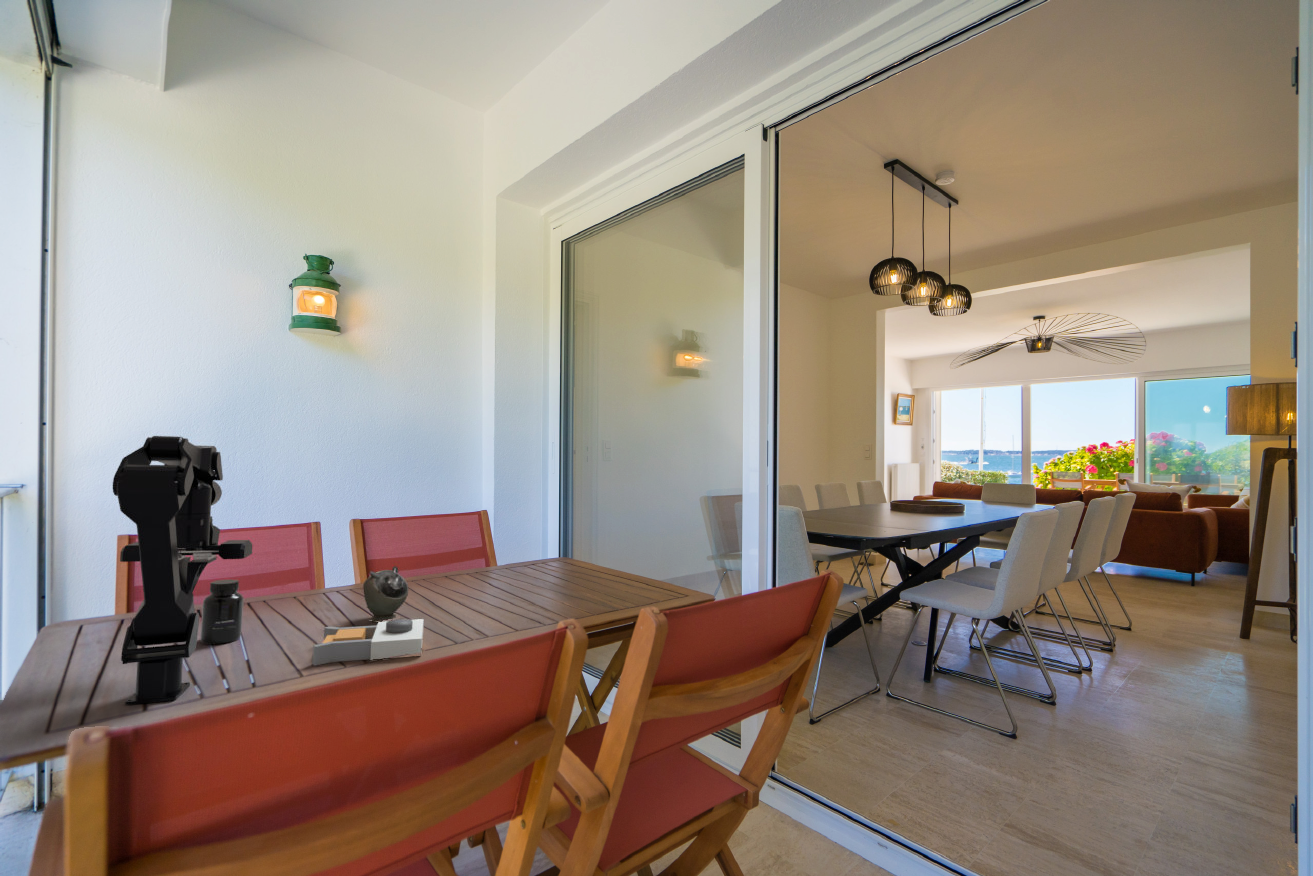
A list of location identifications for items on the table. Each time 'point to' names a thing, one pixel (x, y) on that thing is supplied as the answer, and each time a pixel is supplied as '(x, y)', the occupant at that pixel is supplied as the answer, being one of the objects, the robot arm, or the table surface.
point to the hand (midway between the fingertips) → (187, 597)
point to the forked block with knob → (372, 642)
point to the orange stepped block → (347, 635)
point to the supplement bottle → (222, 613)
